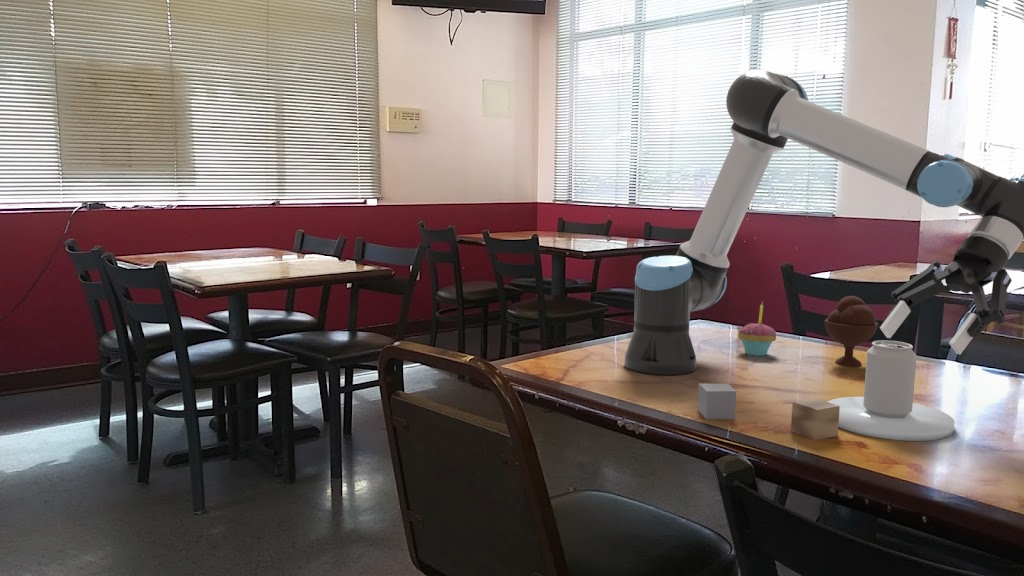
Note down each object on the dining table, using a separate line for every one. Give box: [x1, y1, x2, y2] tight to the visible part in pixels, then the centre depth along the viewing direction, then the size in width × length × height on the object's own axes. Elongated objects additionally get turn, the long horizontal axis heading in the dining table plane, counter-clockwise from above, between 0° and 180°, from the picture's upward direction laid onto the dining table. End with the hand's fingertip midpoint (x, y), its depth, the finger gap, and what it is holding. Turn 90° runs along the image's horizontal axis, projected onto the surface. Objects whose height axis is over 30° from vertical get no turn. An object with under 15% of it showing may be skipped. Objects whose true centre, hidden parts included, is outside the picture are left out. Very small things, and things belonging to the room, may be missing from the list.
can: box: [863, 339, 918, 418], centre depth 134 cm, size 8×8×12 cm
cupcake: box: [737, 301, 777, 357], centre depth 186 cm, size 9×8×12 cm
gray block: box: [697, 383, 737, 420], centre depth 138 cm, size 5×5×5 cm
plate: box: [826, 396, 955, 442], centre depth 135 cm, size 20×20×2 cm
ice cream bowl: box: [823, 295, 879, 368], centre depth 176 cm, size 11×11×15 cm
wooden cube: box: [790, 397, 840, 441], centre depth 129 cm, size 5×5×5 cm
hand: (917, 340), depth 135 cm, fingers open, 13 cm apart
